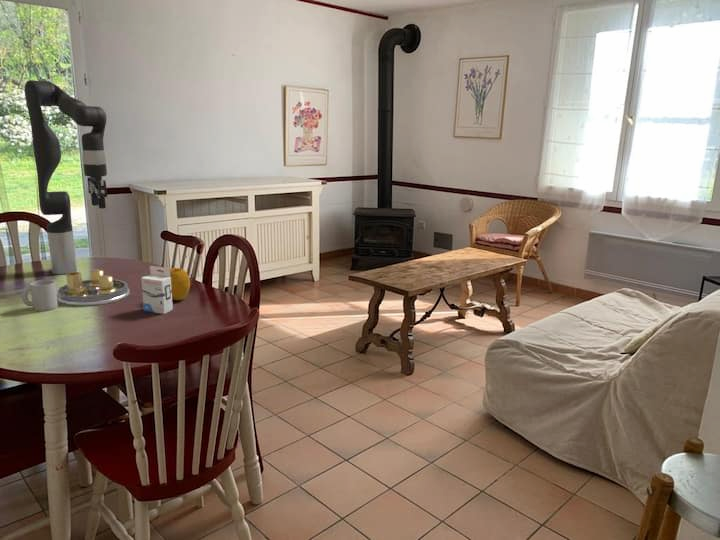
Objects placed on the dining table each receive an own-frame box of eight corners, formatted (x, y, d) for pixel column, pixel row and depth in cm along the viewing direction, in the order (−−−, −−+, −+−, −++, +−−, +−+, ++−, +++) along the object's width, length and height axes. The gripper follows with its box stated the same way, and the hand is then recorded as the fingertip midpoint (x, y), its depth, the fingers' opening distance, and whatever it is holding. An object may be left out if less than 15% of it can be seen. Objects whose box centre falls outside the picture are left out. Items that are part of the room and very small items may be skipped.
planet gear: (63, 294, 195) (60, 273, 193) (83, 291, 199) (81, 270, 197) (68, 299, 190) (65, 277, 188) (89, 296, 194) (87, 274, 192)
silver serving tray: (50, 293, 199) (47, 273, 197) (117, 283, 214) (115, 264, 212) (67, 310, 182) (64, 288, 180) (139, 297, 197) (137, 277, 195)
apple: (157, 299, 196) (155, 267, 193) (180, 293, 204) (178, 262, 201) (173, 305, 191) (171, 272, 188) (196, 298, 198) (195, 267, 195)
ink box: (142, 311, 184) (139, 268, 180) (152, 306, 188) (149, 265, 185) (164, 314, 181) (161, 271, 178) (173, 309, 186) (170, 267, 182)
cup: (58, 309, 183) (55, 284, 181) (23, 314, 178) (20, 287, 176) (57, 303, 189) (54, 278, 187) (23, 307, 184) (20, 282, 182)
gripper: (78, 161, 204) (82, 205, 208) (89, 164, 193) (93, 210, 198) (99, 161, 209) (103, 203, 213) (111, 163, 198) (115, 208, 202)
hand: (98, 206), depth 205 cm, fingers open, 8 cm apart
